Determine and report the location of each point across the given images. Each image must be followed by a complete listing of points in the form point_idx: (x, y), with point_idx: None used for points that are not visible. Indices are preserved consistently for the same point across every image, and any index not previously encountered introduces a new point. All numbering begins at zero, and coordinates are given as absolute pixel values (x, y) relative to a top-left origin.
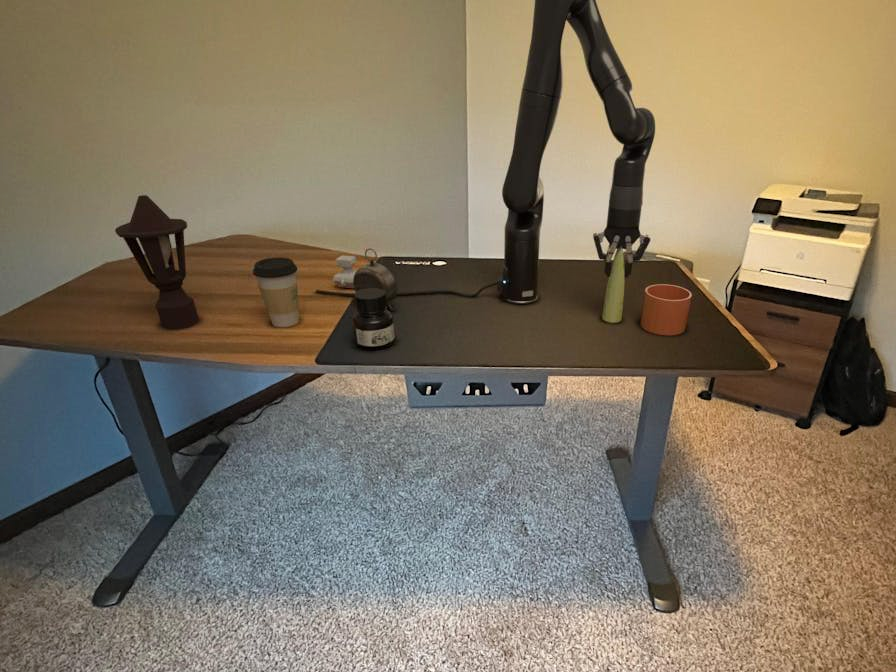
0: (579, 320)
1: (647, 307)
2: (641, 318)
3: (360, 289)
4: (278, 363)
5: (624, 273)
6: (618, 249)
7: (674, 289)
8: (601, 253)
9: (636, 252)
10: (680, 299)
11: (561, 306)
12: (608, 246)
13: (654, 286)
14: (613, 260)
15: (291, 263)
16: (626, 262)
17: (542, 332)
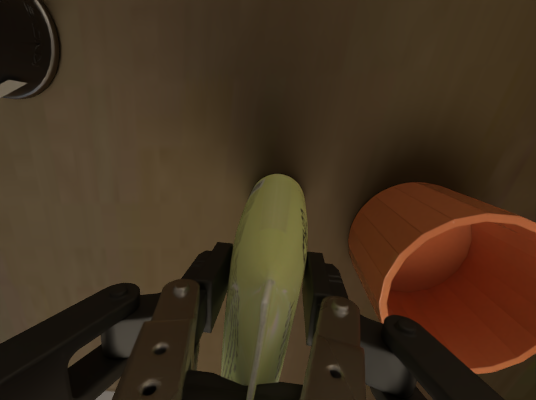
0: (190, 204)
1: (368, 296)
2: (353, 241)
3: None
4: None
5: (306, 259)
6: (242, 344)
7: (529, 231)
8: (105, 378)
9: (403, 362)
10: (520, 241)
11: (139, 104)
12: (140, 331)
13: (445, 229)
14: (229, 287)
15: None
16: (309, 326)
17: (104, 270)
